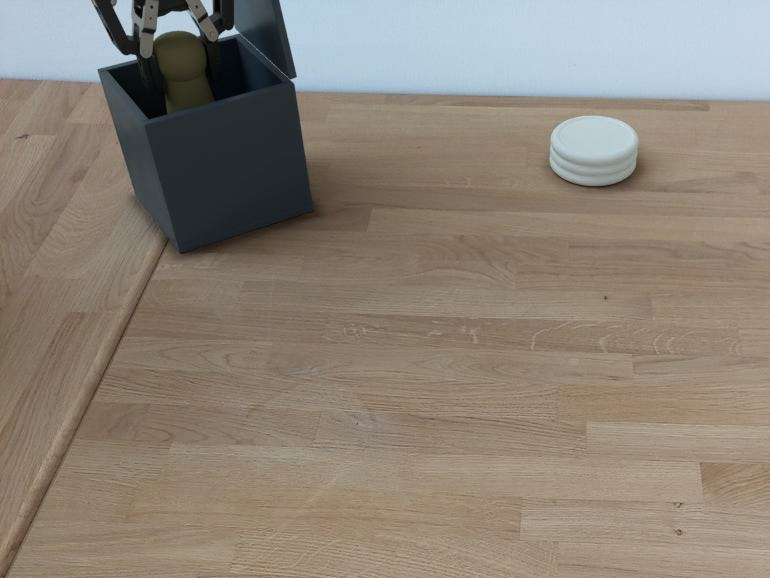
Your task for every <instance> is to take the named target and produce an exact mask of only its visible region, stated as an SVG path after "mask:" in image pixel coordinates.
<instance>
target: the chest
mask: <svg viewBox="0 0 770 578" xmlns="http://www.w3.org/2000/svg"><path fill="white" fill-rule="evenodd" d="M218 44H219V49H220V54H221V59H222V64H223V74H220V75H219V77H220V81H219V82H215V83H212V82H211V81H210V80H209V78H208V77H207V75H206V73H205V75H206V78H207V81H208V84H209V87H210V89H211V92H212V95H213V98H214V101H215V102H212V103H208V104H204V105H201V106H197V107H193V108H190V109H186V110H182V111H179V112H175V113H171V114H167V106H166V99H165V96H162V97H157V96H156V95H155V94H154V92H151V91H150V90H149V89H148V88H147V87H146V85H145V84H144V82H143V80H142V76H141V72H140V69H139V65H138V61H137V58H136V59H132V60H128V61H123V62H120V63H116V64H111V65H108V66H105V67H100V68H97V70H96V71H97V74H98V77H99V80H100V84H101V86H102V91H103V93H104V97H105V100H106V103H107V107H108V109H109V110H108V111H109V113H110V117H111V119H112V123H113V127H114V129H115V132H116V136H117V139H118V142H119V147H120V150H121V152H122V156H123V159H124V162H125V166H126V169H127V172H128V175H129V178H130V182H131V186H132V189H133V192H134V195H135V197H136V198H137V199H138V201H139V202H140V203H141V205H143V207H144V209H146V211H147V213H148V214H149V215H150V217H151V218H152V219H153V220H154V221H155V223H156V225H158V227H159V228H160V229H161V230H162V232H163V233H164V235H165V236H166V237H167V238H168V240H169V241H170V242H171V244H172V245H173V246H174V248H175V249H176V250H177V252H178V253H179V254H183V253H187V252H189V251H192V250H196V249H199V248H202V247H206V246H208V245H211V244H214V243H217V242H221V241H223V240H227V239H230V238H233V237H236V236H239V235H243V234H245V233H249V232H252V231H255V230H258V229H261V228H264V227H267V226H270V225H273V224H277V223H281V222H282V221H286V220H290V219H292V218H295V217H299V216H302V215H305V214H307V213H311V212H313V211H314V205H313V197H312V190H311V184H310V178H309V171H308V165H307V158H306V152H305V151H306V150H305V144H304V138H303V131H302V127H301V126H302V124H301V117H300V112H299V111H300V110H299V105H298V98H297V91H296V86H295V83H294V81H292V79H291V80H290V79H289V78H288V77H287V76H286V75H285V74H284V73H283V72H281V71H280V70H279V69H278V68H277V67H276V66H275V65H274V64H273V63H272V62H271V61H269V60H268V59H267V58H266V57H265V56H264V55H263V54H262V53H261V52H260V51H259V50H258V49H256V48H255V47H254V46H253V45H252V44H251V43H250V42H249V41H248V40H247V39H246V38H244V37H243V36H242V35H241V34H240V33H239V32H238V33H235V34H231V35H227V36H224V37H218ZM204 72H205V70H204ZM160 76H161V80H162V84H163V88H164V83H163V76H162V75H160ZM164 92H165V91H164Z"/></svg>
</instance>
